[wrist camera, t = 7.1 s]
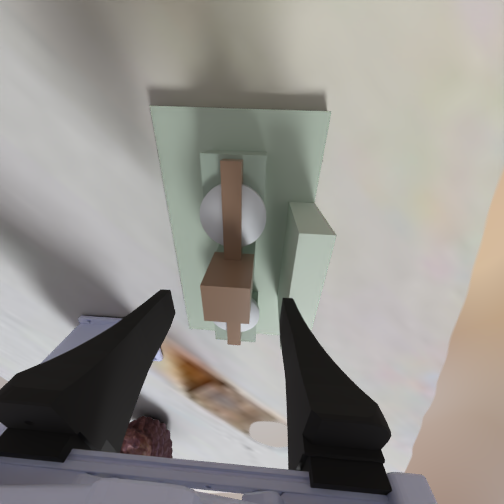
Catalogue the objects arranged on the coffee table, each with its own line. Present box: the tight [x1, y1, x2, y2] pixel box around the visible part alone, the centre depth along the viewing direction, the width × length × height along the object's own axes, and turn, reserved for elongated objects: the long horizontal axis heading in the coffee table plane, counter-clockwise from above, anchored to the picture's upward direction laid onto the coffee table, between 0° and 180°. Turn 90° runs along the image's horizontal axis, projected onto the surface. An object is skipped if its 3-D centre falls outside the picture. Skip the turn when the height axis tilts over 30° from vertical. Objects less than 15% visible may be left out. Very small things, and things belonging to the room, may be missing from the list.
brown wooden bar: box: [200, 159, 266, 345], centre depth 15 cm, size 4×16×4 cm, turn 178°
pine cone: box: [120, 416, 172, 458], centre depth 37 cm, size 18×10×10 cm, turn 14°
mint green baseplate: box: [150, 106, 337, 349], centre depth 17 cm, size 12×22×7 cm, turn 178°
